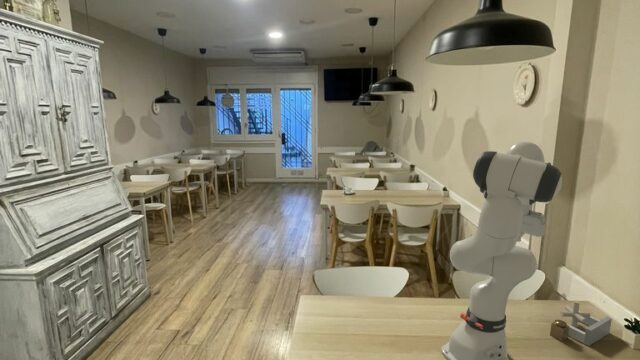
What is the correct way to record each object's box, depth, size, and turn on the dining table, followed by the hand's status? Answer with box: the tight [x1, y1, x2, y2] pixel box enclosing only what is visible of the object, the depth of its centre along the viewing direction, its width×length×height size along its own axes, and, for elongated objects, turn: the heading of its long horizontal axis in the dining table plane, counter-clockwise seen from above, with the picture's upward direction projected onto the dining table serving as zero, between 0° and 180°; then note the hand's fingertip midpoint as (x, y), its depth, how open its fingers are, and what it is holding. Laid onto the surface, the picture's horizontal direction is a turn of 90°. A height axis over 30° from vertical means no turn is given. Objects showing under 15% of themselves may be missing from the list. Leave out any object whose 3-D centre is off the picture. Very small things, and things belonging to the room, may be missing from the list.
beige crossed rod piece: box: [559, 300, 591, 329], centre depth 131 cm, size 10×10×10 cm
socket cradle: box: [556, 310, 613, 347], centre depth 129 cm, size 15×12×6 cm
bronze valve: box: [549, 319, 570, 342], centre depth 126 cm, size 4×4×6 cm
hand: (516, 240), depth 141 cm, fingers closed
